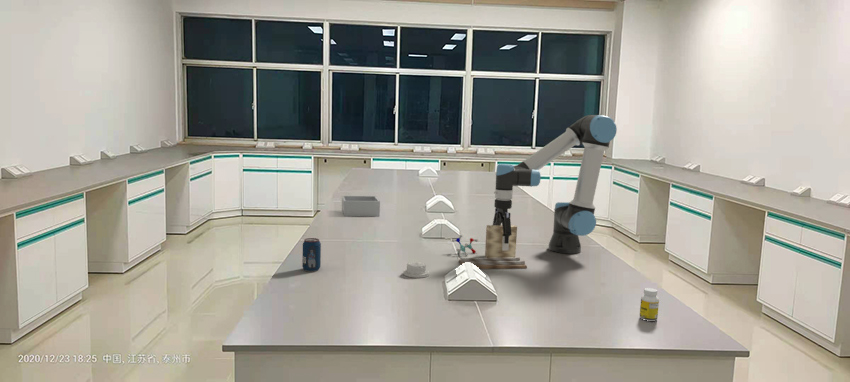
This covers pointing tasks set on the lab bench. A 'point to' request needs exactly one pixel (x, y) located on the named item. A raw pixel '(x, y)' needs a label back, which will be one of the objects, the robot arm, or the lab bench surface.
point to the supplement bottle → (649, 305)
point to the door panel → (499, 242)
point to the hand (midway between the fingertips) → (500, 247)
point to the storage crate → (360, 206)
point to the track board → (495, 263)
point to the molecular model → (465, 245)
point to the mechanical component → (416, 270)
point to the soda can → (311, 254)
